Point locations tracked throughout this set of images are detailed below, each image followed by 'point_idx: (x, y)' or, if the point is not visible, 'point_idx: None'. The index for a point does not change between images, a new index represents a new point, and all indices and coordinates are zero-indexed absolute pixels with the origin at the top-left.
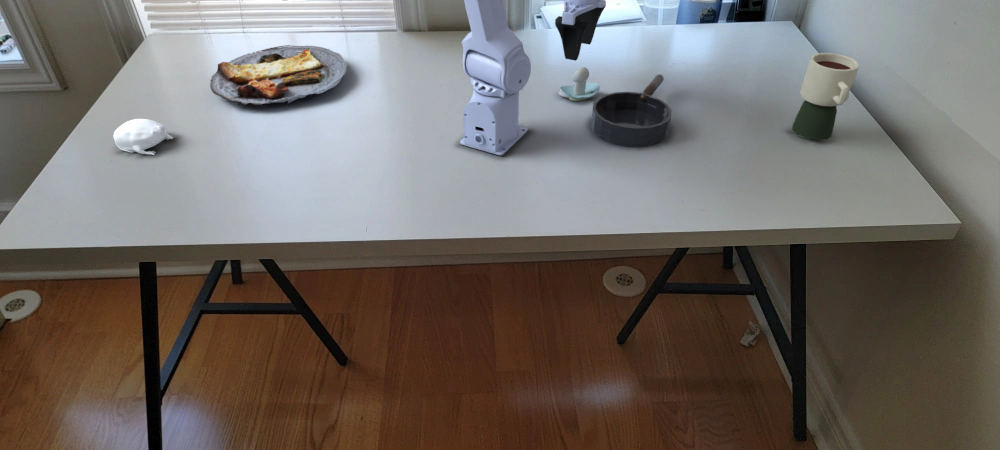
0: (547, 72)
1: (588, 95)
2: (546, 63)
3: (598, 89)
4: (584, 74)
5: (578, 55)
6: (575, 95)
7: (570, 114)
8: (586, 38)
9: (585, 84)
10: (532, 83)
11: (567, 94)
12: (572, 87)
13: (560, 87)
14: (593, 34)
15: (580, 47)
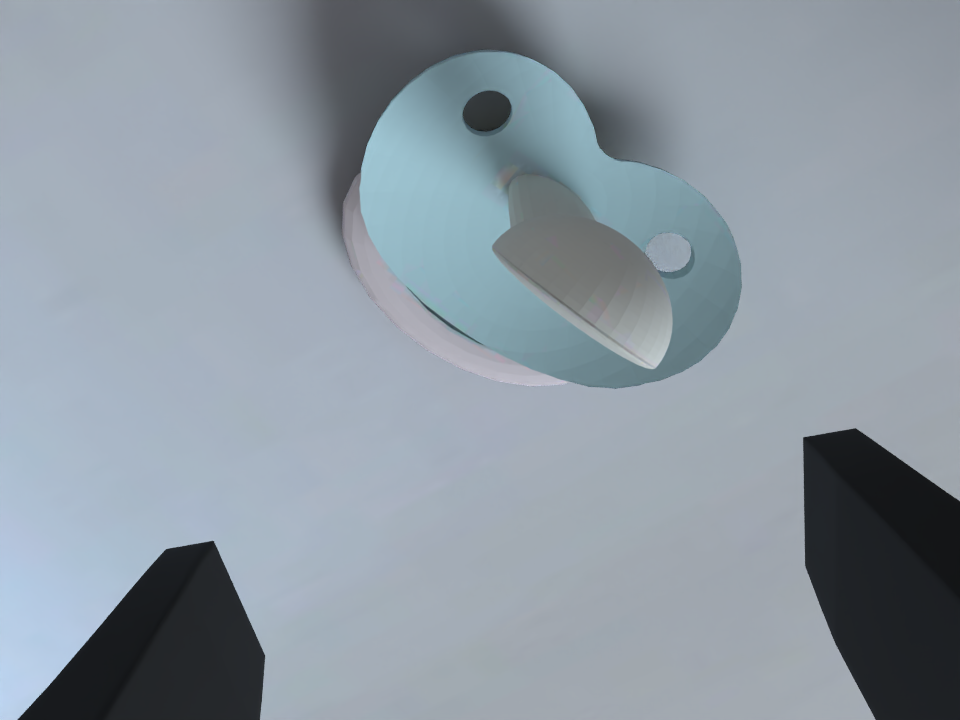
0: (274, 604)
1: (552, 117)
2: None
3: (461, 62)
4: (629, 256)
5: (854, 459)
6: (611, 223)
7: (876, 102)
8: (214, 647)
9: (534, 208)
10: (508, 592)
11: (739, 266)
12: (496, 320)
13: (658, 380)
14: (111, 638)
15: (920, 536)
